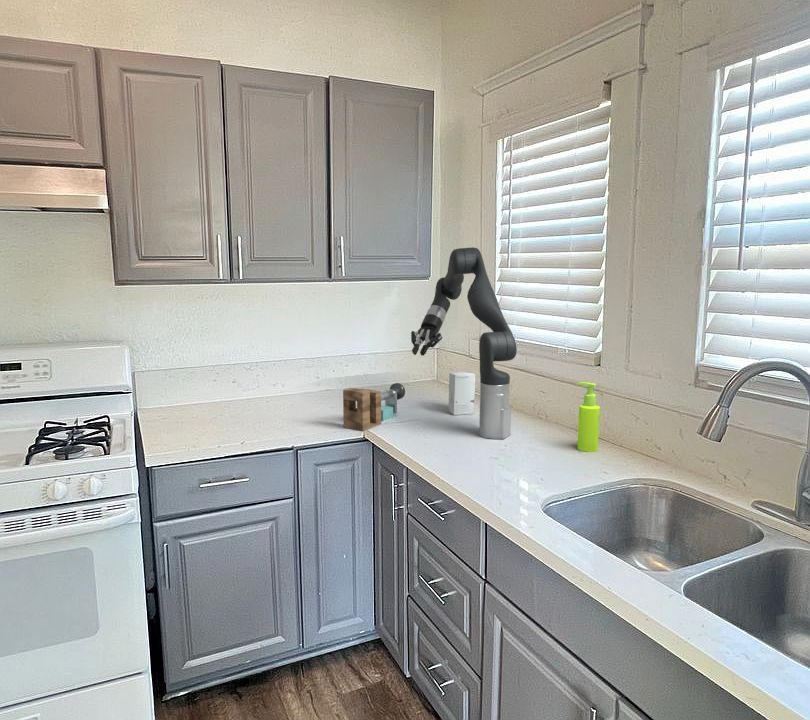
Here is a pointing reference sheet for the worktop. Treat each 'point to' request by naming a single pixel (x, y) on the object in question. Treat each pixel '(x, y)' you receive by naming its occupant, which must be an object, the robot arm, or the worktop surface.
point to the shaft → (392, 396)
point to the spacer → (386, 412)
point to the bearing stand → (361, 408)
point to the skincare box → (461, 393)
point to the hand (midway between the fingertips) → (417, 353)
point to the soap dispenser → (588, 421)
